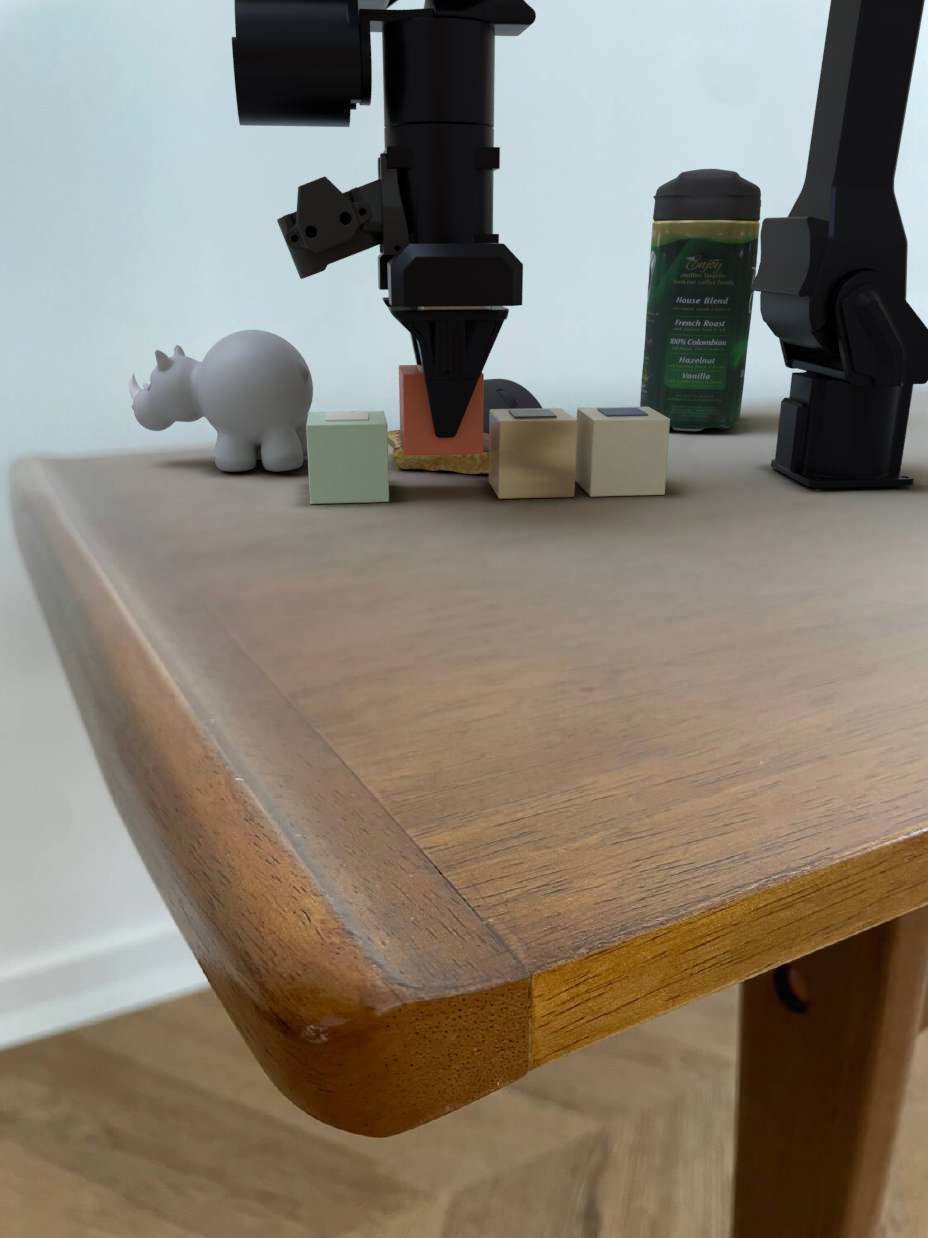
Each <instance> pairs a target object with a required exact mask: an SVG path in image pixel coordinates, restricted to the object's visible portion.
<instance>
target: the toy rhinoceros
mask: <svg viewBox="0 0 928 1238" xmlns="http://www.w3.org/2000/svg"><path fill="white" fill-rule="evenodd" d="M154 356H155V360H156V366H155V367H154V369H152V371H151V373H150V377H149V381H150V382H149V383H148V382H146V381H143V382H142V387H143V388H141V386H140V385H139V384H138V382H137V379H136V376H135V373H134V372H132V373H131V375H130V377H129V381H128V391H129V395H130V397H131V399H132V404H131V409H132V410H133V415H134V417H135V419H136V421H137V423H138V424H139V425H140V426H142V427H143V428H145V429H147V430H148V431H151V432H152V431H153V432H162V431H165V430H166V429H168V428H170V427H171V426H172V425H173V424H174V423H176V422H182V423H193V422H197V421H198V420H200V419H201V418H205V419H206V420H207V421H208V423H209V424H210V425H211V427H212V428H213V429H214V430H215V431H216V433H217V434H216V435H217V436H216V441H215V444H214V463H215V466H216V468H217V469H219V470H221V471H224V472H230V473H231V472H232V473H235V472H237V473H238V472H245V471H250V470H253V469H254V468H255V467H256V465H257V461H259V460H261V463H262V466H263V468H264V469H265V470H266V471H269V472H277V473H278V472H288V471H293V470H296V469H299V468H301V467H302V466H303V464H304V458H306V457H308V451H307V432H306V424H307V418H308V413H309V412H310V410H311V407H312V404H313V399H314V383H313V376H312V375H311V374H312V373H311V371H310V368H309V366H308V364H307V362H306V360H305V358H304V356H303V355H302V354H301V353H300V351H299V350H298V349H297V348H296V347H295V346H294V345H293V344H292V343H290V341H288V340H287V339H285V338H283V337H282V336H280V335H278V334H275V333H273V332H270V331H266V330H261V329H244V330H239V331H235V332H232V333H229V334H228V335H226V336H224V337H222V338H221V339H219V340H217V342H215V343H214V344H213V345H212V346H211V347H210V349H209V350H208V351H207V352H206V353H205V355H204V357H203V358H202V361H200V360H196V359H195V358H193V357H190V356H186V353H185V351H184V349H183V348H182V346H180V345H179V344H176V345H175V346H174V347H173V356H168V355H167V354H166V353H165V352H163V351H161V350H159V349H156V350H155V351H154Z"/></svg>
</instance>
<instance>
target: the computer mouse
mask: <svg viewBox="0 0 928 1238" xmlns="http://www.w3.org/2000/svg"><path fill="white" fill-rule="evenodd" d="M537 408H543V406H542V405H541V403H540V401H538V399H537V398H536V397H535V396H534V394H533V393H532V392H530V391H529V389H527V388H526V387H524V386H523V385H521V384H520V383H519V382H518V383H517V382H516V381H513V380H510V379H506V378H489V379H487V378H486V379H484V405H483V433H487V434H489V411H490V409H537Z"/></svg>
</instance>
